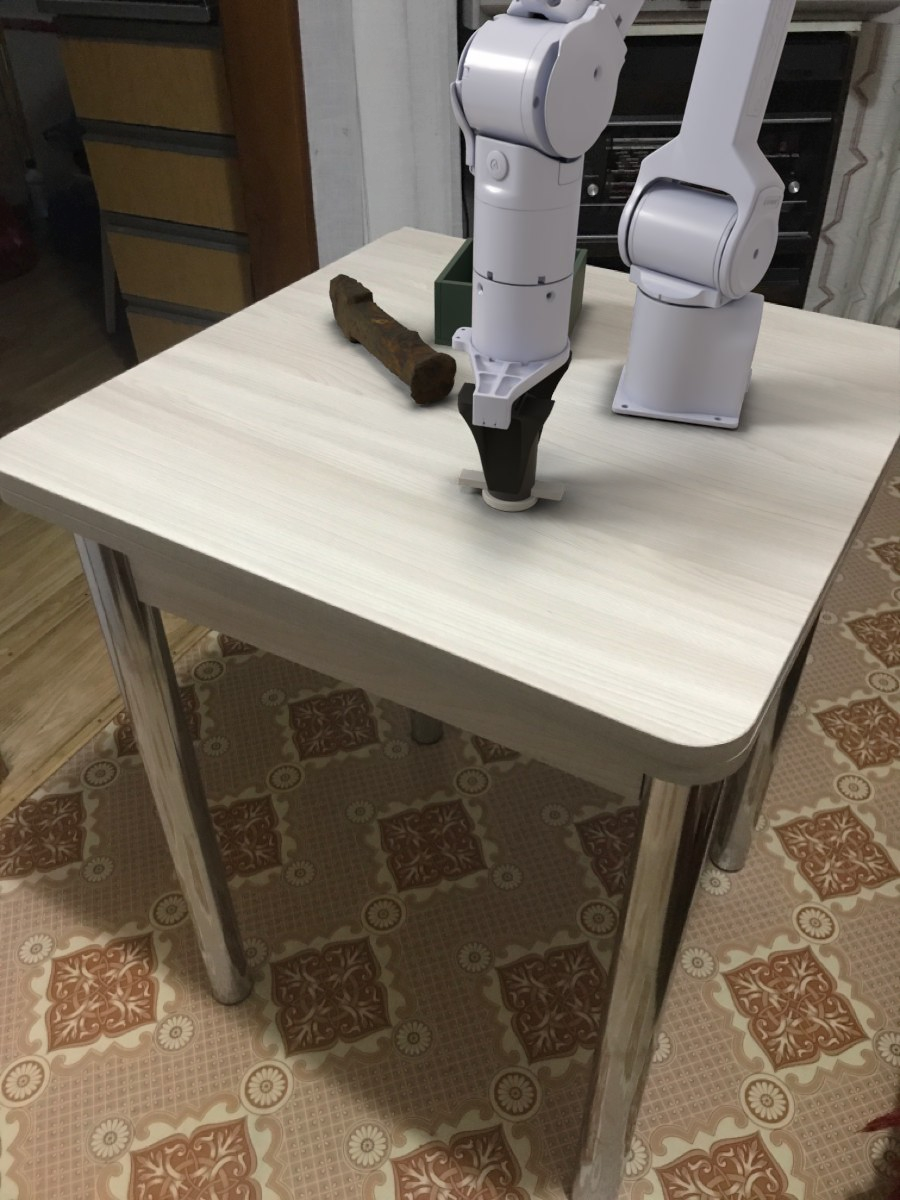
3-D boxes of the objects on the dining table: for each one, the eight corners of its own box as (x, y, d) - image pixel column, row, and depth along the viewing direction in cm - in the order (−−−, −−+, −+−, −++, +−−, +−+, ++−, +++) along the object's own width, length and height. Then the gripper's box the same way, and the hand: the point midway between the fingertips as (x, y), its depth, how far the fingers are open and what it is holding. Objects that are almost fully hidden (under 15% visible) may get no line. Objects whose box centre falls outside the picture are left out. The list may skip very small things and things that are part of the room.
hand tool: (458, 399, 72) (459, 343, 69) (413, 410, 70) (412, 353, 67) (363, 313, 85) (360, 263, 82) (322, 321, 83) (318, 270, 80)
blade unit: (566, 488, 62) (575, 395, 58) (556, 519, 59) (565, 424, 55) (467, 473, 64) (469, 381, 59) (453, 503, 61) (453, 409, 56)
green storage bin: (581, 308, 86) (587, 249, 82) (560, 359, 77) (566, 296, 74) (466, 295, 88) (467, 237, 84) (434, 343, 80) (433, 281, 76)
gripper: (485, 219, 58) (479, 411, 66) (418, 309, 47) (422, 523, 56) (596, 230, 56) (575, 425, 65) (552, 324, 46) (535, 542, 54)
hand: (511, 471), depth 60 cm, fingers open, 4 cm apart
